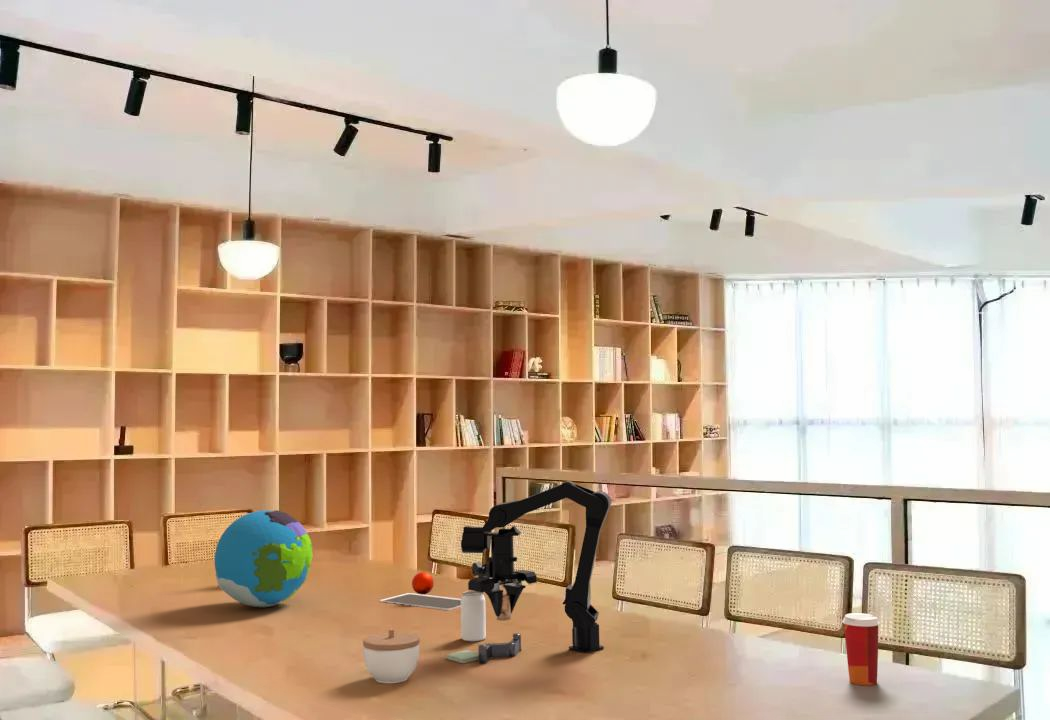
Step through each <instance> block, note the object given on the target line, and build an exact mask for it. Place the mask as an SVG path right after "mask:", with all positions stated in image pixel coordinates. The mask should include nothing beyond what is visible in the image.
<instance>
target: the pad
mask: <svg viewBox="0 0 1050 720" xmlns="http://www.w3.org/2000/svg"><path fill="white" fill-rule="evenodd" d="M445 656H446V657H445V658H446V659H447V660H450V661H454V662H457V663H460V664H466V663H470V662H474V661H479V653H478V652H477V651H473V650H469V649H463V650H460V651H456V652H451V653H447V654H446V655H445Z"/></svg>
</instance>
